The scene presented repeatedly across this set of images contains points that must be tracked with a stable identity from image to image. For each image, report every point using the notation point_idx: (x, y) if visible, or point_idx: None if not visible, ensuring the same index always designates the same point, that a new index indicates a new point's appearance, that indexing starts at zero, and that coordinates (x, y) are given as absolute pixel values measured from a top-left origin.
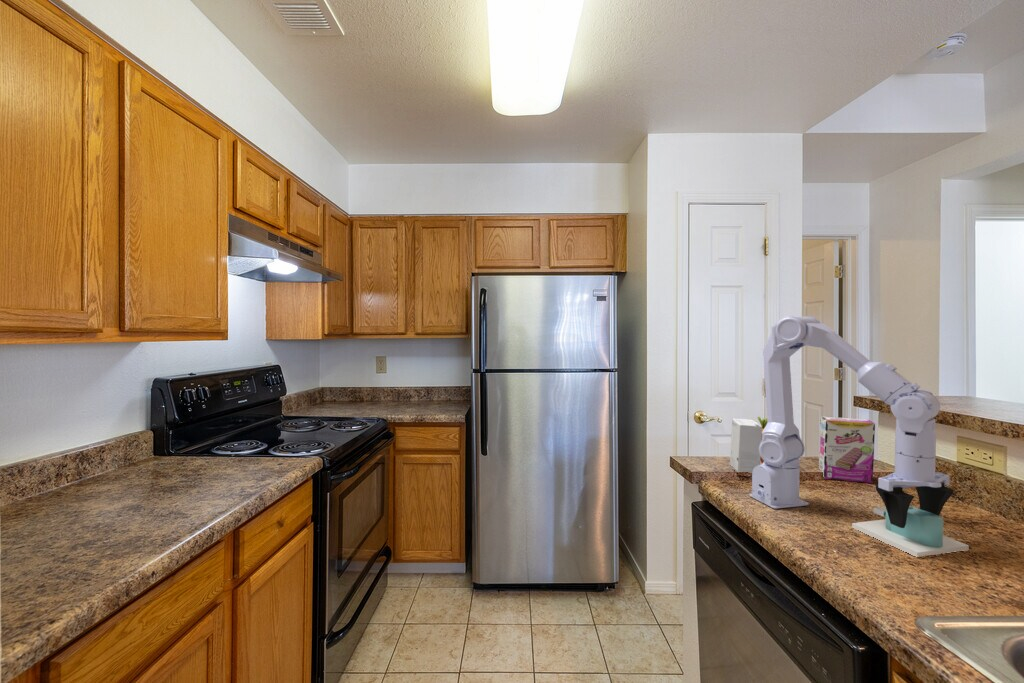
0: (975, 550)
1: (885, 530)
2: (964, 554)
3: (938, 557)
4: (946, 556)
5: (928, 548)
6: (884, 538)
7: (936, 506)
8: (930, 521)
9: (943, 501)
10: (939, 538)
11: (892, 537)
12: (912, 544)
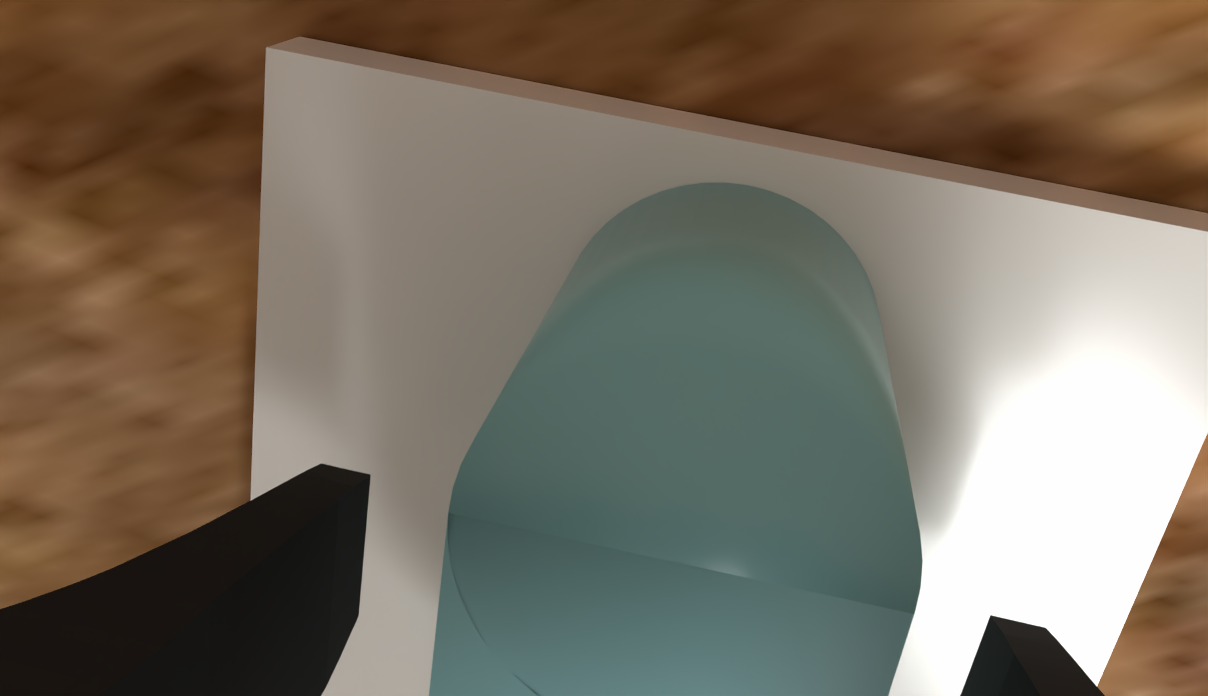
0: (193, 6)
1: None
2: (472, 7)
3: (928, 110)
4: (783, 79)
5: (944, 243)
6: (1108, 639)
7: (205, 646)
8: (892, 442)
9: (32, 655)
10: (755, 232)
11: (993, 604)
12: (1001, 398)
